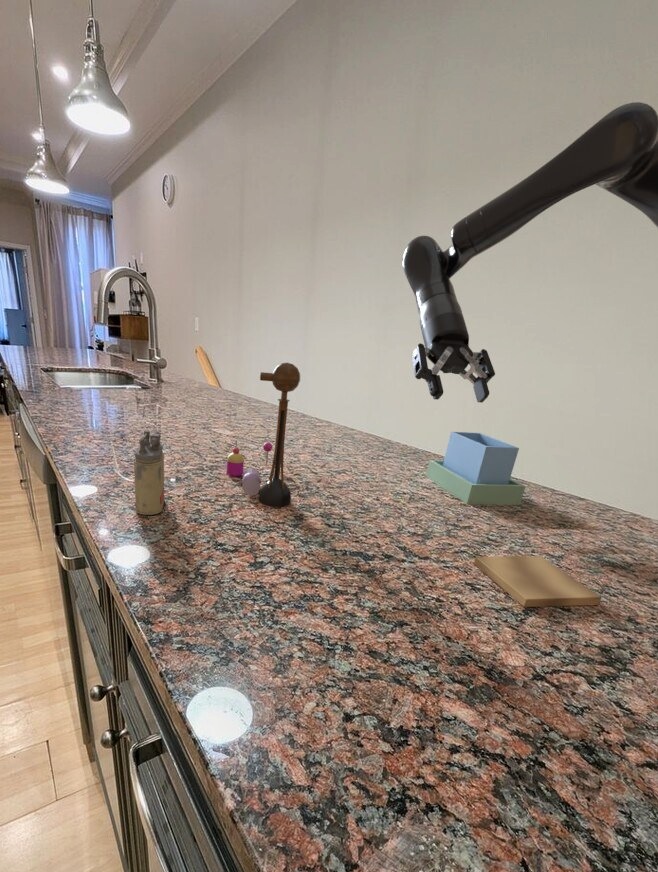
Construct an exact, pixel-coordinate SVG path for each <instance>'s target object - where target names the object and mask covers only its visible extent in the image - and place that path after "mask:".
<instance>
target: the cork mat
mask: <svg viewBox="0 0 658 872" xmlns="http://www.w3.org/2000/svg"><path fill="white" fill-rule="evenodd" d="M473 565H474V566H476V567H477V568H478V569H479V568H480V569H481V570H480V569H479V570H480V571H481V572H483V573H484V574H485V575H486V576H487V577H488V576H489V577H488V578H490V580H492V581H493V582H494V583H495V584H496V585H498V586H499V588H501V589H502V590H503V591H505V592H506V593H507V594H508V595H509V596H510V597H511V598H513V599H514V600H515V601H516V602H517V603H518V604H520V605H521V606H522V607H523V608H540V607H543V608H544V607H571V606H572V607H574V606H576V607H577V606H598V605H600V602H601V599H602V596H601V595H600V594H598V593H596V592H595V591H593V590H592V589H591V588H589V587H587V586H585V585H584V584H583V583H581V582H580V581H579V580H577V579H575V578H574V577H573V576H571V575H569V574H568V573H566V572H565V571H564V570H562V569H560V568H559V567H558V566H556V565H554V564H553V563H552V562H550V561H549V560H548V559H545V558H544V557H543V556H539V555H537V556H533V555H532V556H531V555H529V556H528V555H527V556H522V555H521V556H475V559H474V561H473Z"/></svg>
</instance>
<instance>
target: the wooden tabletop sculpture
mask: <svg viewBox="0 0 658 872" xmlns="http://www.w3.org/2000/svg"><path fill="white" fill-rule="evenodd" d="M259 380H260V381H264V382H271V383H272V385H273V387H274V389H276V391H279V392H281V395H280V398H278V399H277V401H279V402H278V415H277V423H276V424H277V425H276V433H275V444H274V452H273V459H272V464H271V470H270V473H269V478H268V481H266V482H265V483H264V484H263V486H262V488H260V490H259V493H258V502H259V503H260V504H261V505H264V506H266V507H270V508H285V507H288V506H290V504H291V501H292V493H291V490H290V487H289V486H288V485H287V484H286V482H284V481H285V479H284V478H285V477H284V457H285V440H286V427H287V416H288V406H289V402H290V399H288V393H289V392H294V390H296V389H297V388H298V387H299V385H300V382H301V372H300V371H299V368H298V367H297V366H296V365H294V364H293V363H290V362H282V363H279V364H278V365H277V366H275V368H274V370H273V371H272V372H260V376H259Z"/></svg>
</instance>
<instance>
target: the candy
mask: <svg viewBox="0 0 658 872" xmlns="http://www.w3.org/2000/svg"><path fill="white" fill-rule="evenodd" d="M262 448H263V450H264V452H266V454H265V456H266V457H265V466H268V459H269V452H271V451H272V450H273V444H272V443H271V442H269V441H268V442H265V443H263V447H262ZM244 463H245V458H244V457H243V454H241V453H240V449H239V448H238V439H236V440H235V447H234V448H233V449H232V452H231V453H230V454H228V456H227V459H226V474H227V475H228V476H229V477H233V478H237V477H241V476H242V486H241V489H242V491H243V493H244V494H246V495H247V496H250V497H252V496H255V495H259V493H260V491H261V483H262V480H261V478H260V477H261V475H260V471H259V470H258V469H257V468H255V467H249V468H245V469H244Z"/></svg>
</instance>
